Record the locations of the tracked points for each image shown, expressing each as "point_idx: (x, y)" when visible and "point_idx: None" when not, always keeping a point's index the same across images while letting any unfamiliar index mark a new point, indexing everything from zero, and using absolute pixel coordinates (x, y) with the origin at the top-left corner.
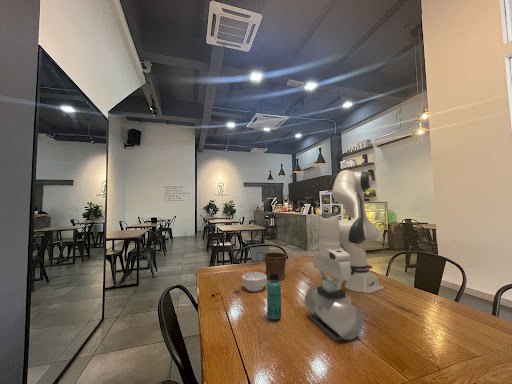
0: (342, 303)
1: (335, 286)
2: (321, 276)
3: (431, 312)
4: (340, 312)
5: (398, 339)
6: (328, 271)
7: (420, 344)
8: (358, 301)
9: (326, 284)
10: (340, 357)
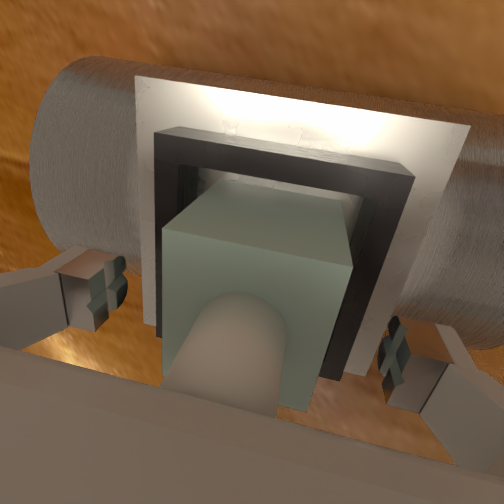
0: (90, 186)
1: (104, 260)
2: (465, 372)
3: None
4: (50, 94)
5: (120, 310)
6: (67, 452)
7: (84, 333)
8: (376, 444)
9: (237, 230)
10: (88, 2)
